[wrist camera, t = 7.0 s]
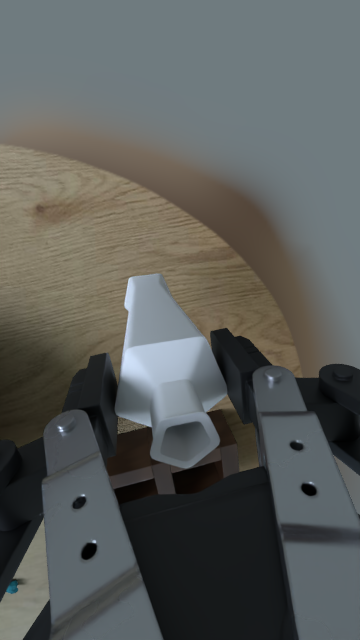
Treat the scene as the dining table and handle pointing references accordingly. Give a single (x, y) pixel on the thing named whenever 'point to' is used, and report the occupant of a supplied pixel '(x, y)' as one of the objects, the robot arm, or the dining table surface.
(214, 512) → the robot arm
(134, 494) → the holder
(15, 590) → the knife
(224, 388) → the perfume bottle
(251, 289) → the dining table surface
